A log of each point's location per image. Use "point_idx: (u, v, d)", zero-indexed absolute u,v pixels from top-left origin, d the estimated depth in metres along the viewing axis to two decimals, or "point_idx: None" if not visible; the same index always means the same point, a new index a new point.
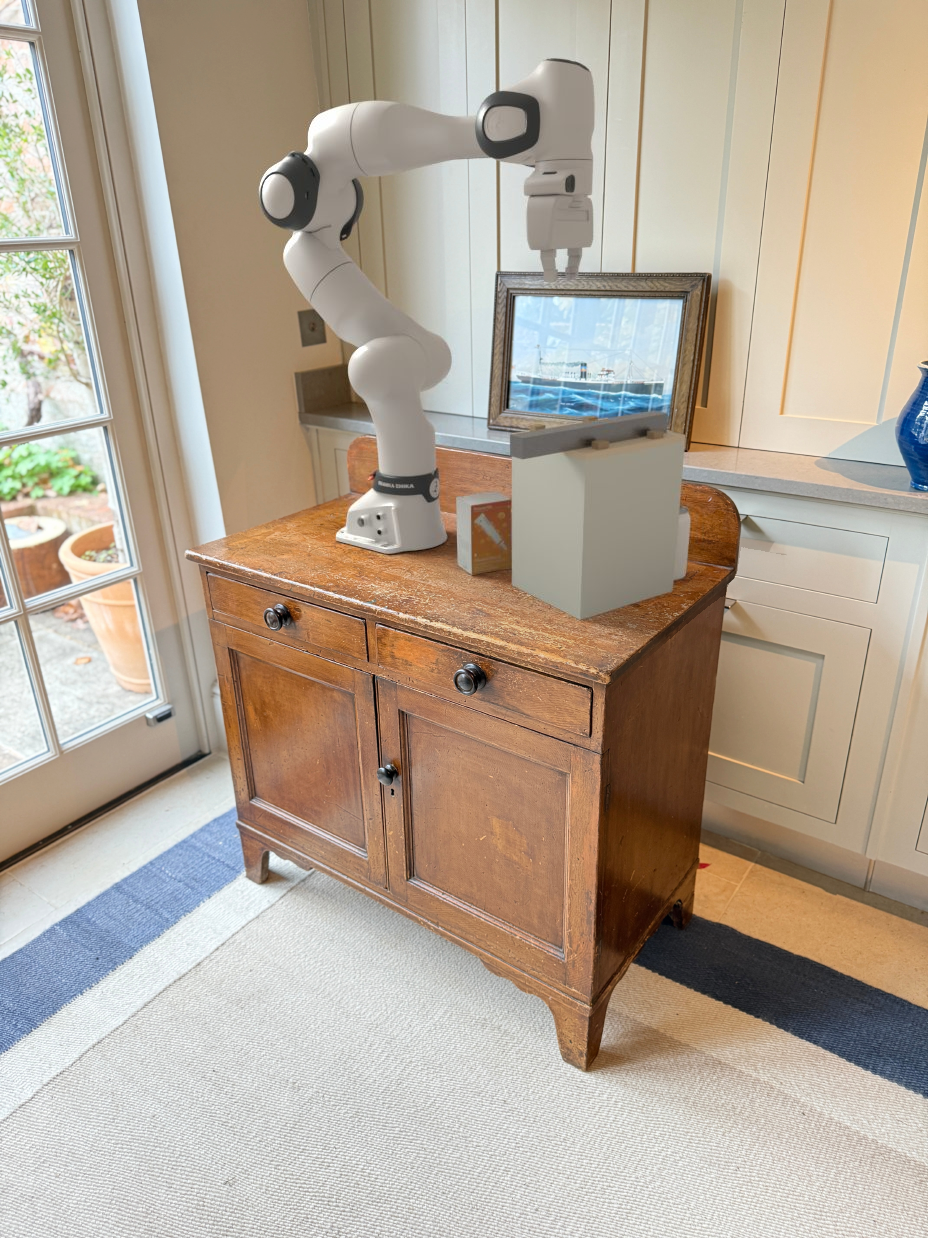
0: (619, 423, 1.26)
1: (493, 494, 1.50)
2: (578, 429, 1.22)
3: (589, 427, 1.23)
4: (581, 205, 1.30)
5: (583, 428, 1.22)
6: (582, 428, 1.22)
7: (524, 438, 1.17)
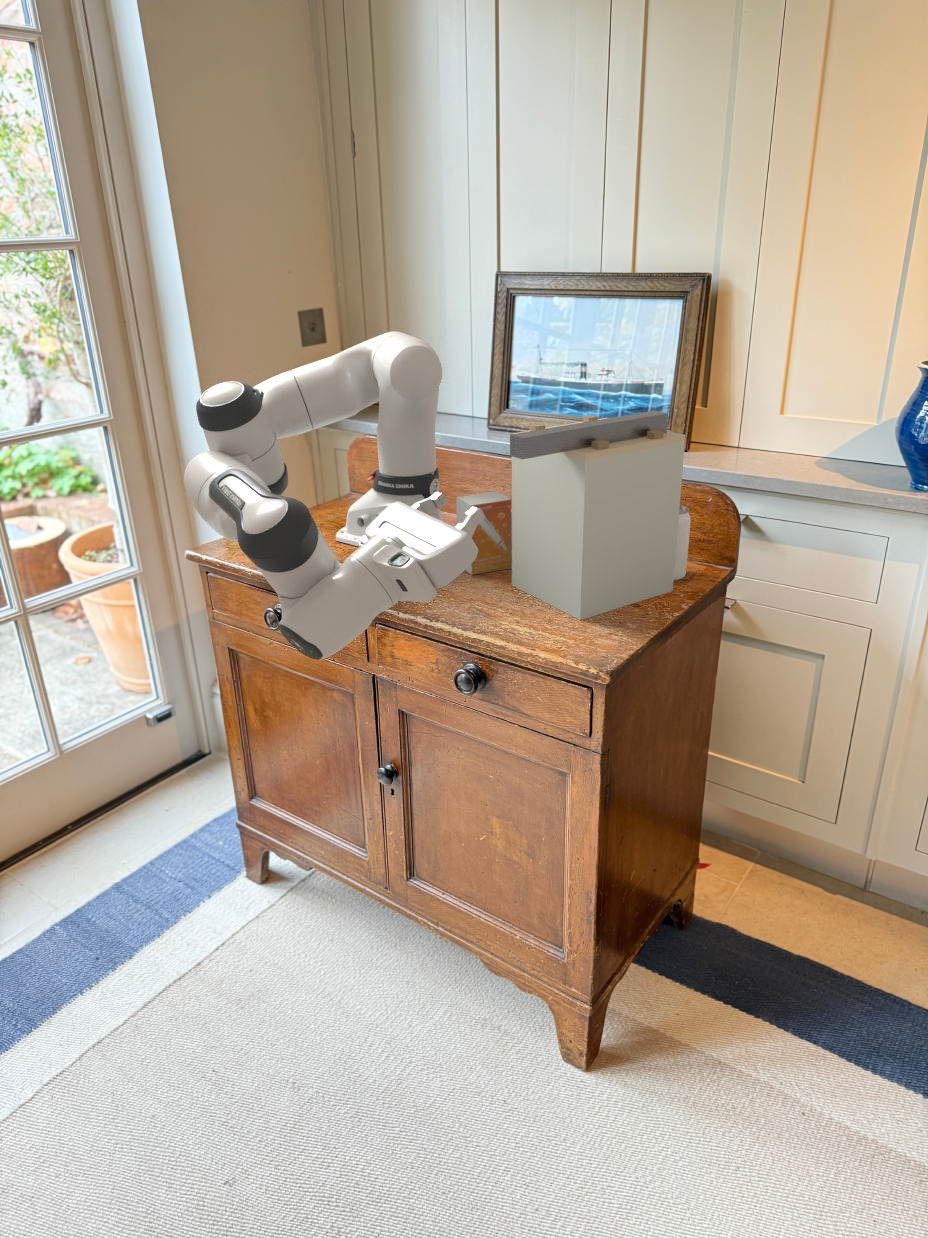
0: (619, 423, 1.26)
1: (493, 494, 1.50)
2: (578, 429, 1.22)
3: (589, 427, 1.23)
4: (394, 535, 1.12)
5: (583, 428, 1.22)
6: (582, 428, 1.22)
7: (524, 438, 1.17)
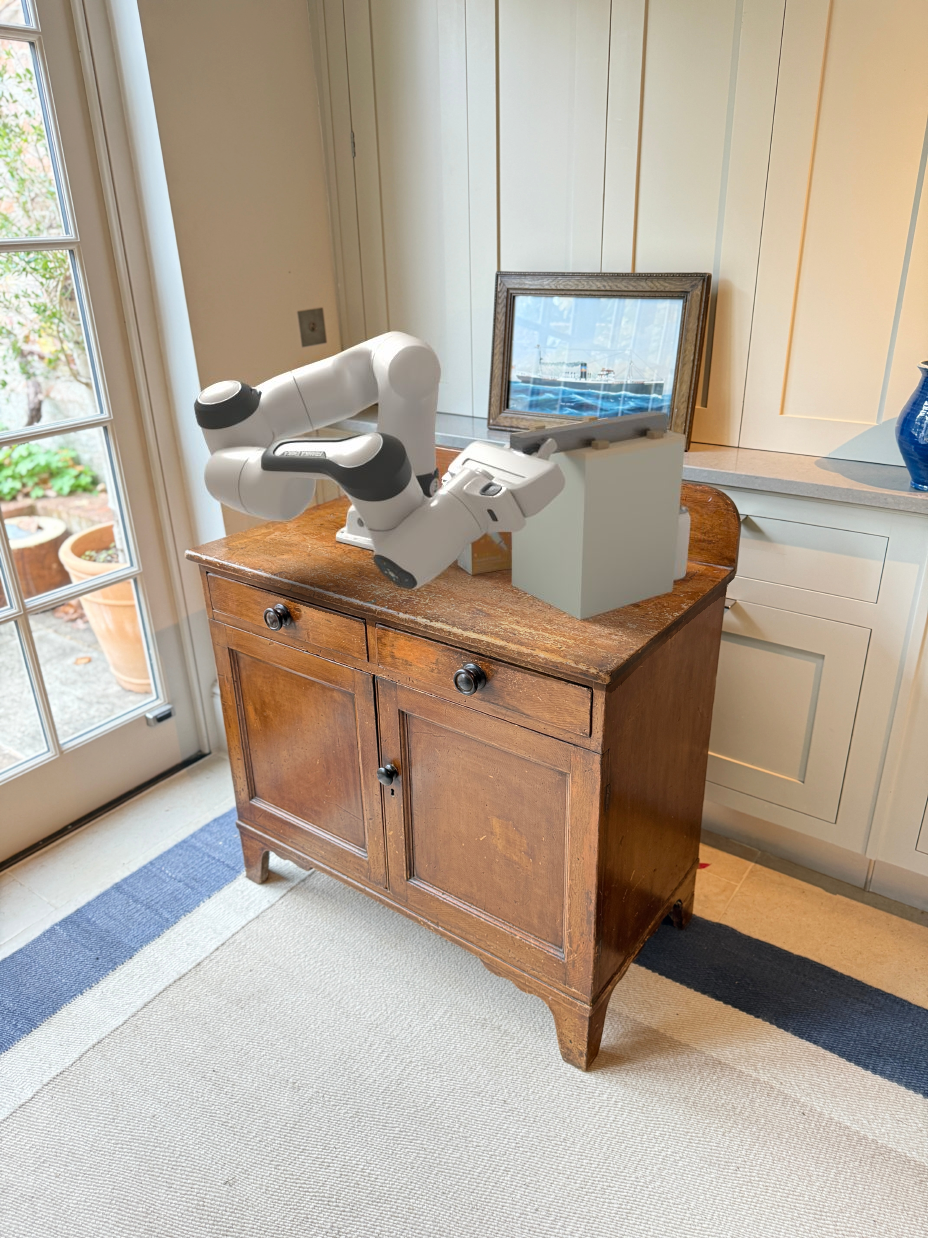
0: (619, 423, 1.26)
1: None
2: (578, 429, 1.22)
3: (589, 427, 1.23)
4: (482, 469, 1.17)
5: (583, 428, 1.22)
6: (582, 428, 1.22)
7: (524, 438, 1.17)
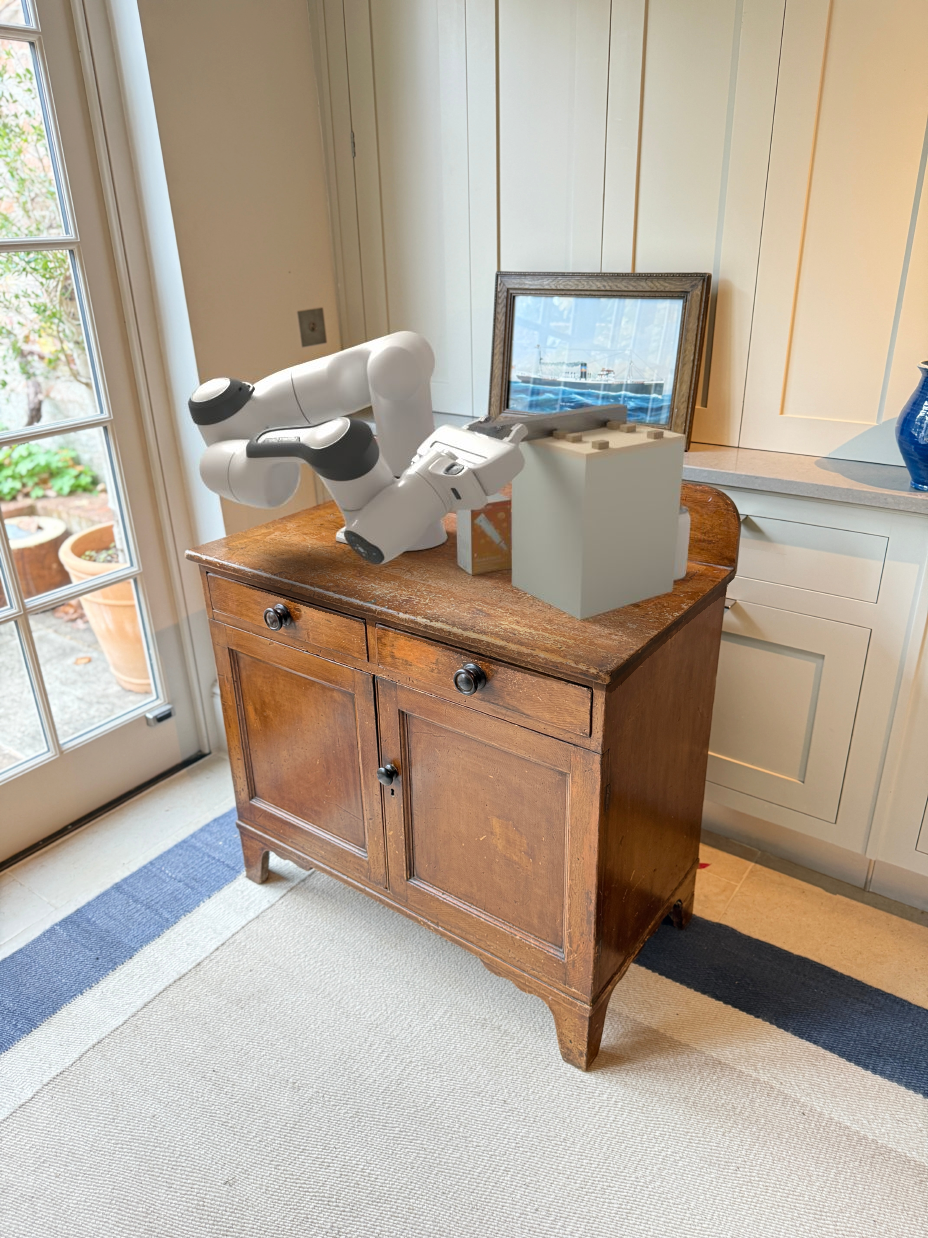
0: (579, 414, 1.33)
1: None
2: (539, 420, 1.29)
3: (550, 418, 1.30)
4: (447, 450, 1.23)
5: (544, 419, 1.29)
6: (543, 419, 1.29)
7: (487, 428, 1.24)
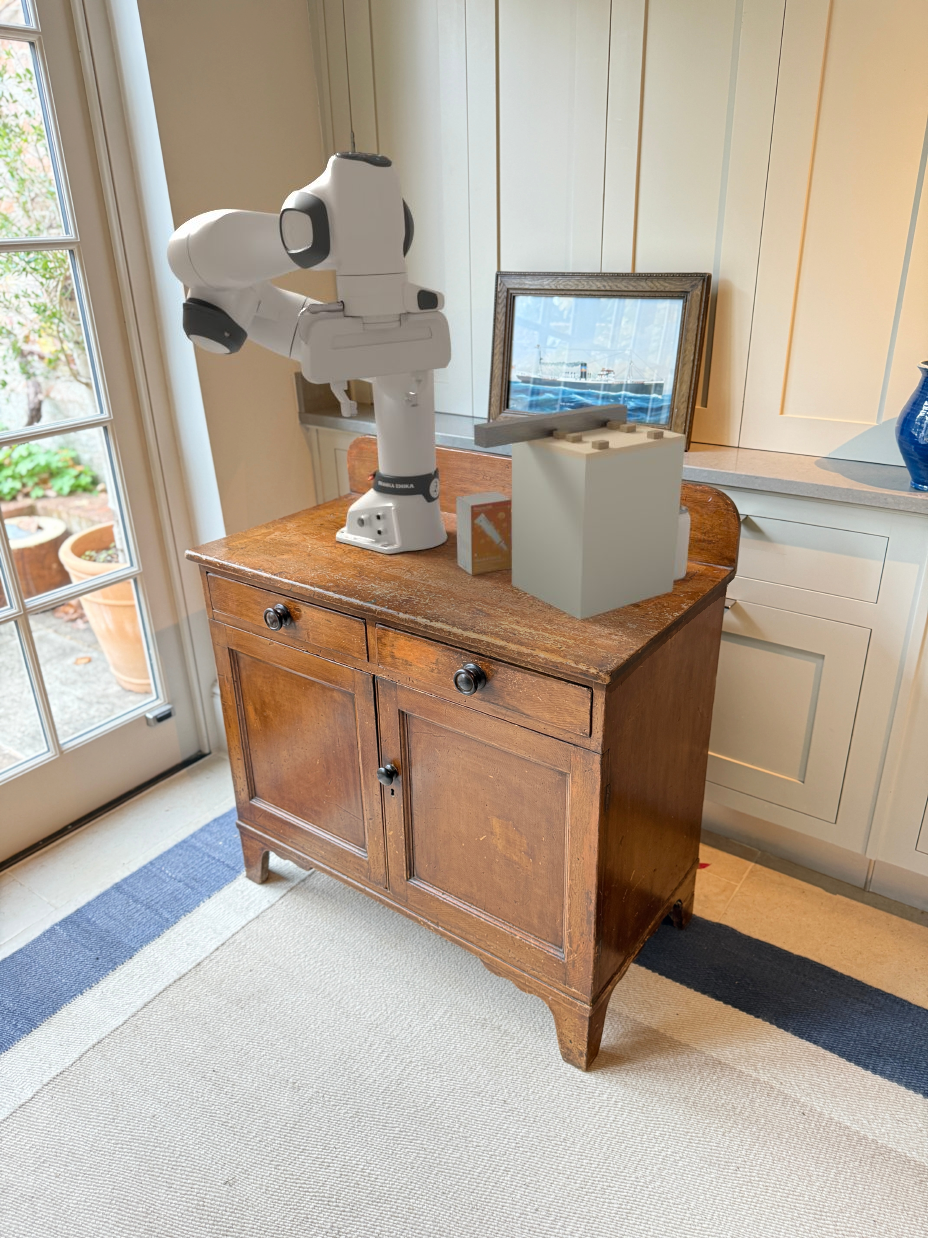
0: (579, 414, 1.33)
1: (493, 494, 1.50)
2: (539, 420, 1.29)
3: (550, 418, 1.30)
4: None
5: (544, 419, 1.29)
6: (543, 419, 1.29)
7: (487, 428, 1.24)
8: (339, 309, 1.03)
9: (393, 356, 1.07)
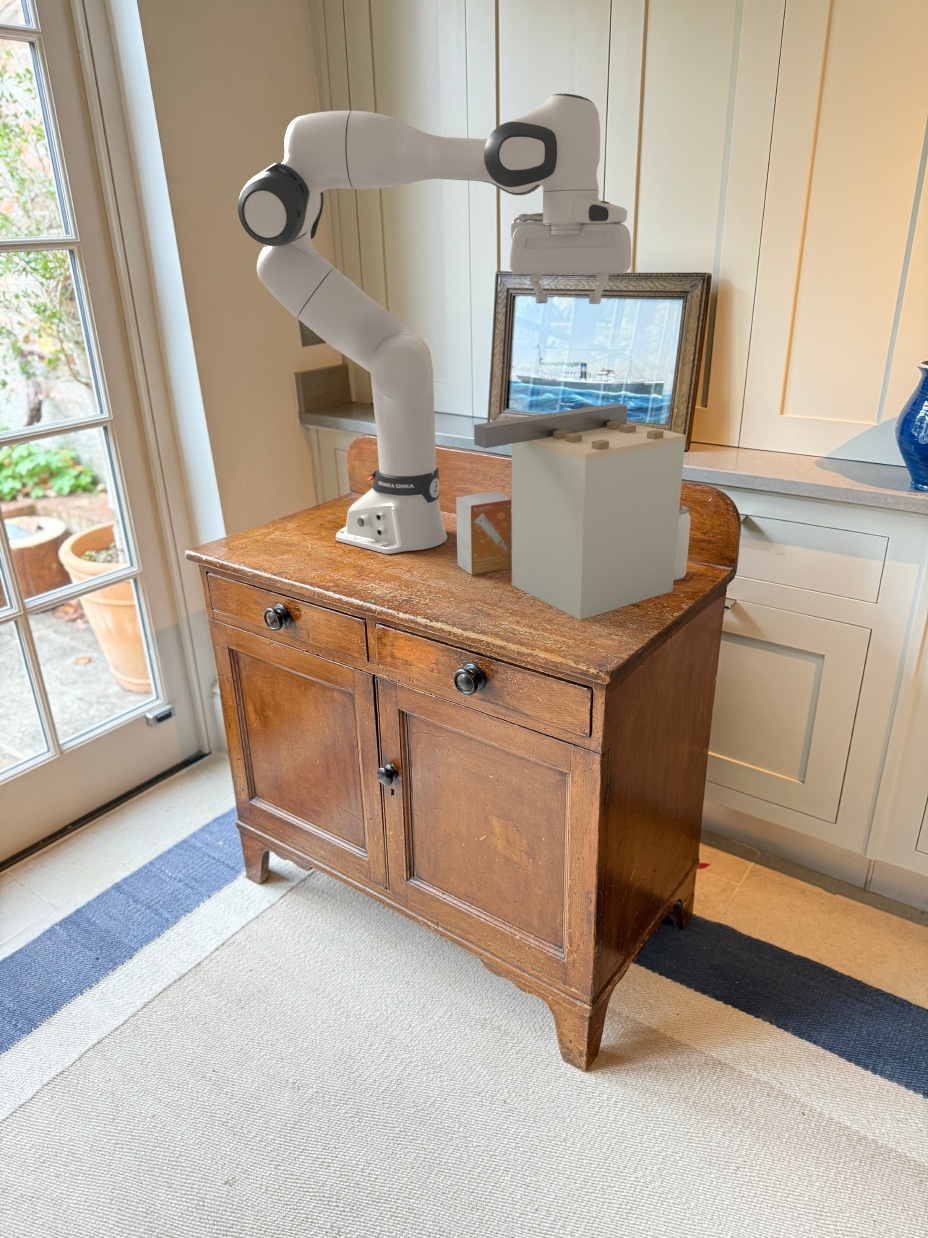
0: (579, 414, 1.33)
1: (493, 494, 1.50)
2: (539, 420, 1.29)
3: (550, 418, 1.30)
4: None
5: (544, 419, 1.29)
6: (543, 419, 1.29)
7: (487, 428, 1.24)
8: (540, 218, 1.38)
9: (572, 258, 1.37)
